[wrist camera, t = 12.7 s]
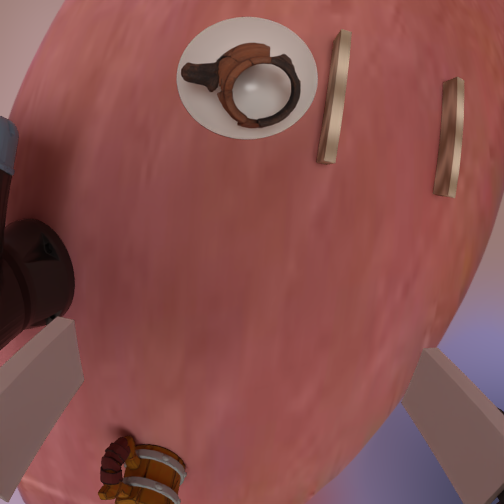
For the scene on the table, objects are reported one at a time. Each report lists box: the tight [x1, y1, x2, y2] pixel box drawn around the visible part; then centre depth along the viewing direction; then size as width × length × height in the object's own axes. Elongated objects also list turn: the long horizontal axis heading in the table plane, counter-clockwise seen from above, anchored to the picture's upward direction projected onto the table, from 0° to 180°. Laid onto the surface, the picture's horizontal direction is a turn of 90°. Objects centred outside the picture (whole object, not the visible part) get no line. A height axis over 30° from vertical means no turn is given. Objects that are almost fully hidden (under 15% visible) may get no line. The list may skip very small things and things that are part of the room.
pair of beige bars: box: [316, 29, 464, 198], centre depth 30 cm, size 16×17×4 cm
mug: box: [98, 436, 187, 504], centre depth 36 cm, size 11×16×15 cm, turn 26°
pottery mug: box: [181, 43, 301, 128], centre depth 28 cm, size 12×9×8 cm
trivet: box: [177, 17, 318, 139], centre depth 30 cm, size 16×16×1 cm
